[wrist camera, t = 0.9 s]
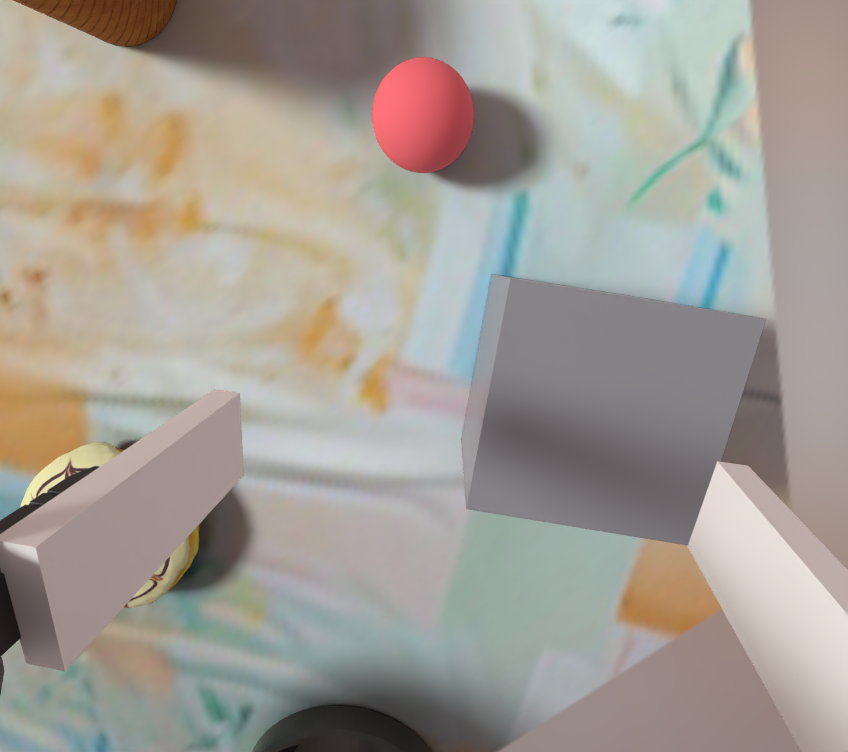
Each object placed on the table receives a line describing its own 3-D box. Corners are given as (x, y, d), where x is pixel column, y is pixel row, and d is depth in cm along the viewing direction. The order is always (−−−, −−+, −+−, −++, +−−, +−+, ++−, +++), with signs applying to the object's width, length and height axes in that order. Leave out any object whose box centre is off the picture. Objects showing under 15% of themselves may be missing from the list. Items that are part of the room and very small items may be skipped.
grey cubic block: (623, 465, 30) (693, 546, 21) (461, 439, 30) (466, 508, 22) (667, 301, 28) (766, 318, 19) (491, 273, 28) (510, 278, 19)
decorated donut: (96, 405, 31) (49, 424, 27) (238, 495, 32) (211, 525, 28) (31, 524, 33) (-20, 556, 30) (166, 605, 34) (133, 646, 31)
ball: (462, 186, 27) (466, 169, 22) (374, 173, 27) (357, 153, 22) (479, 87, 26) (486, 46, 21) (386, 73, 26) (371, 29, 21)
